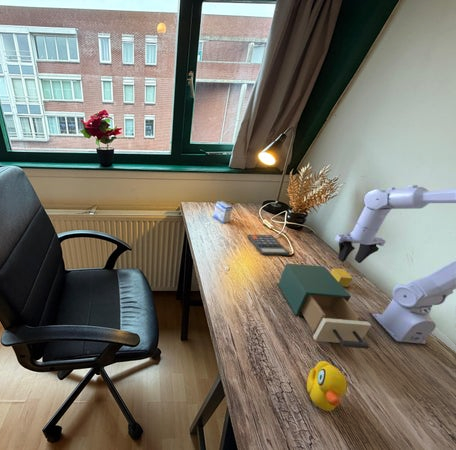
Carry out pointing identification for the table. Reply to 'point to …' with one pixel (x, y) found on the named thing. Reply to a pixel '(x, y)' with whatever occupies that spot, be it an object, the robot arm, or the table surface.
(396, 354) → the table surface
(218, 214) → the medicine box
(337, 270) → the block
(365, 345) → the drawer
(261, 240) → the calculator
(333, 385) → the duckling
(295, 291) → the cabinet
